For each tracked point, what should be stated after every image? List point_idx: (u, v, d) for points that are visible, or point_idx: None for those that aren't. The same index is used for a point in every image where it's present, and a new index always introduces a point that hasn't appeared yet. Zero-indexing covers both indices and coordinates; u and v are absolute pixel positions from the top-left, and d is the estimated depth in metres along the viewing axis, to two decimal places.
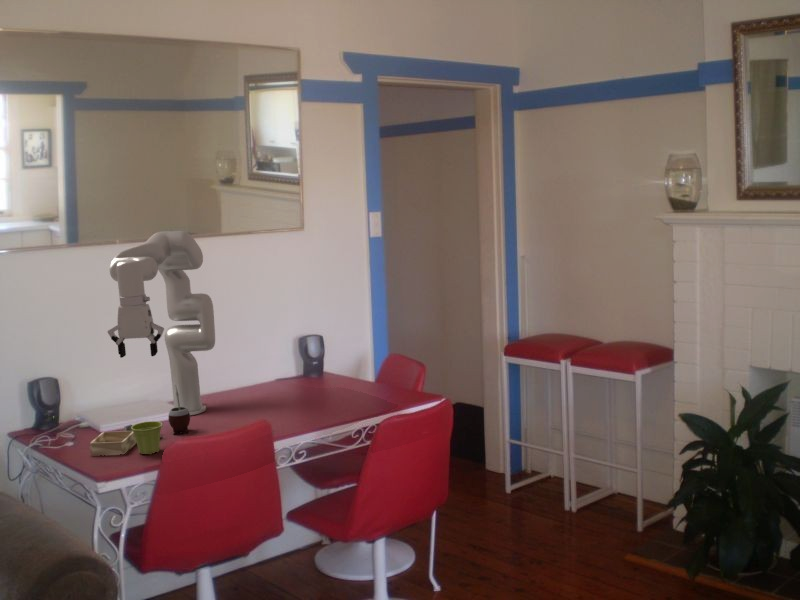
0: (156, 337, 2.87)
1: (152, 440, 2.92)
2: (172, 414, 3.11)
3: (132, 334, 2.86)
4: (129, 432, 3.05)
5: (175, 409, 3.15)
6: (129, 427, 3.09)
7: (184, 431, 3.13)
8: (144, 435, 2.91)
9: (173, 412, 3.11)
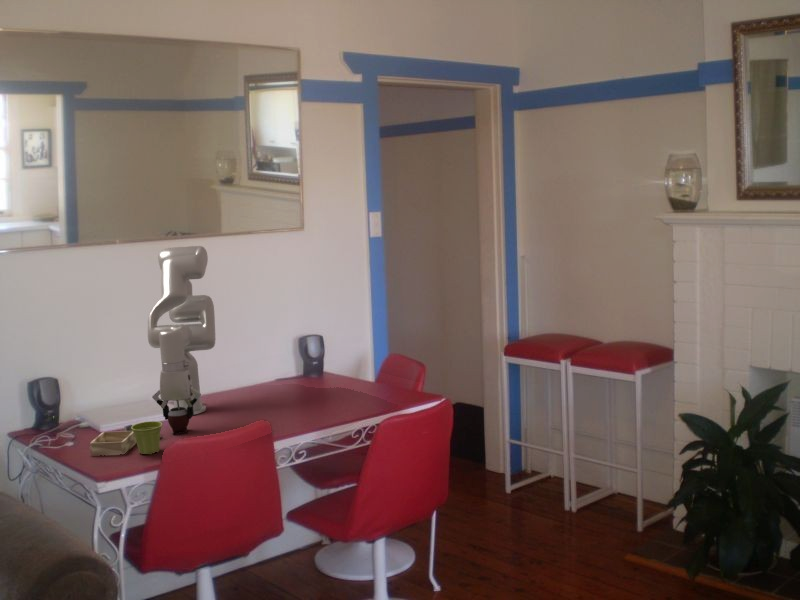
0: (192, 401, 3.12)
1: (152, 440, 2.92)
2: (171, 414, 3.11)
3: (173, 397, 3.10)
4: (129, 432, 3.05)
5: (174, 409, 3.15)
6: (129, 427, 3.09)
7: (183, 431, 3.13)
8: (144, 435, 2.91)
9: (172, 412, 3.11)
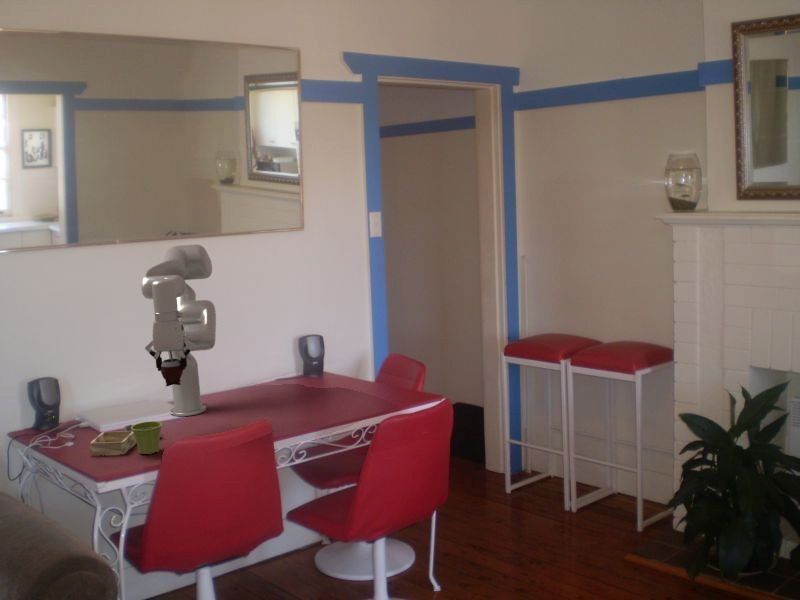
0: (186, 352, 3.09)
1: (152, 440, 2.92)
2: (164, 365, 3.08)
3: (166, 347, 3.08)
4: (129, 432, 3.05)
5: (167, 360, 3.12)
6: (129, 427, 3.09)
7: (177, 382, 3.10)
8: (144, 435, 2.91)
9: (165, 363, 3.08)
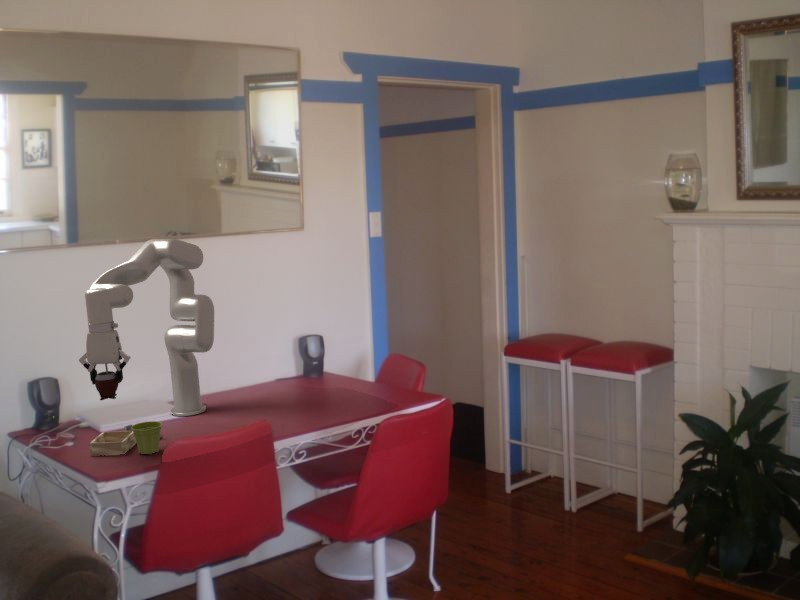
0: (121, 365, 2.95)
1: (152, 440, 2.92)
2: (98, 378, 2.93)
3: (100, 360, 2.93)
4: (129, 432, 3.05)
5: (103, 373, 2.98)
6: (129, 427, 3.09)
7: (112, 396, 2.96)
8: (144, 435, 2.91)
9: (99, 376, 2.93)
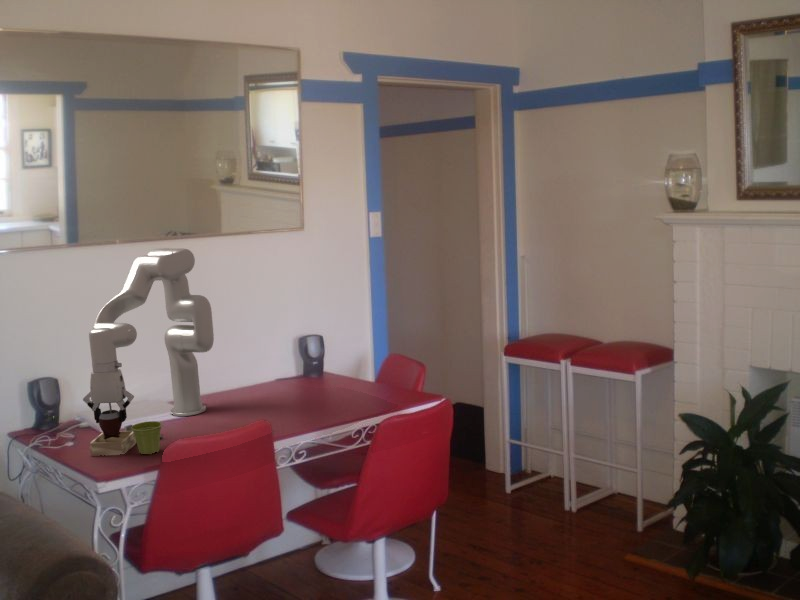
0: (125, 404, 2.97)
1: (152, 440, 2.92)
2: (102, 417, 2.95)
3: (104, 399, 2.95)
4: (129, 432, 3.05)
5: (106, 412, 3.00)
6: (129, 427, 3.09)
7: (115, 435, 2.98)
8: (144, 435, 2.91)
9: (103, 415, 2.95)
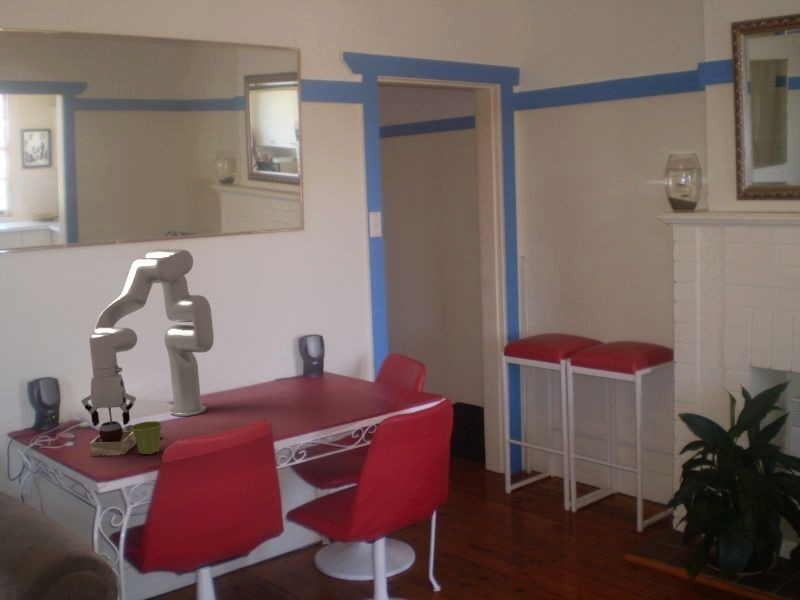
0: (128, 406, 2.97)
1: (152, 440, 2.92)
2: (102, 429, 2.96)
3: (105, 404, 2.95)
4: (129, 432, 3.05)
5: (107, 423, 3.00)
6: (129, 427, 3.09)
7: None
8: (144, 435, 2.91)
9: (104, 427, 2.96)
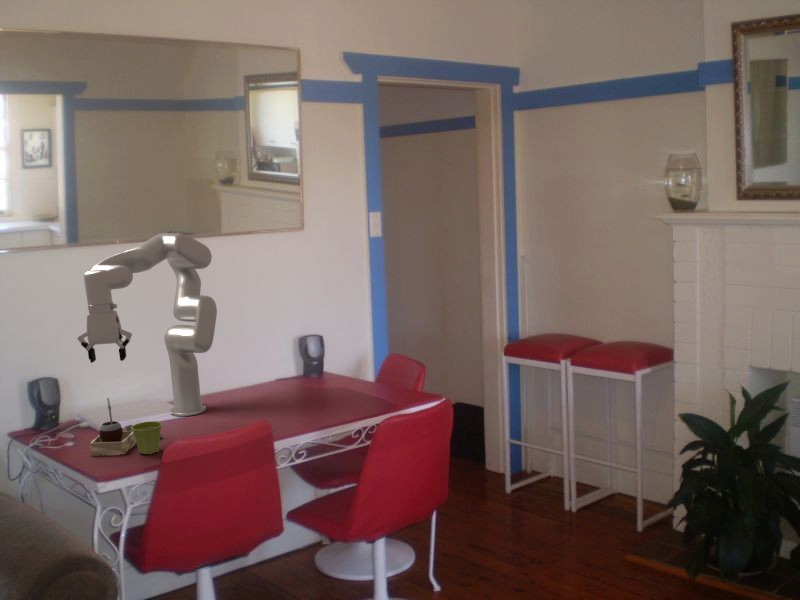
0: (124, 342, 3.00)
1: (152, 440, 2.92)
2: (102, 429, 2.96)
3: (101, 340, 2.98)
4: (129, 432, 3.05)
5: (107, 423, 3.00)
6: (129, 427, 3.09)
7: None
8: (144, 435, 2.91)
9: (104, 427, 2.96)
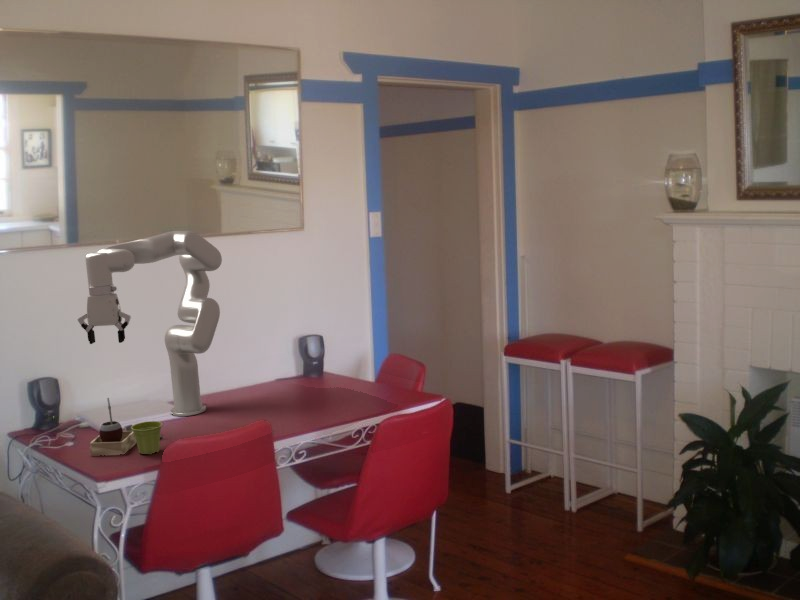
0: (123, 325, 3.05)
1: (152, 440, 2.92)
2: (102, 429, 2.96)
3: (101, 322, 3.03)
4: (129, 432, 3.05)
5: (107, 423, 3.00)
6: (129, 427, 3.09)
7: None
8: (144, 435, 2.91)
9: (104, 427, 2.96)
